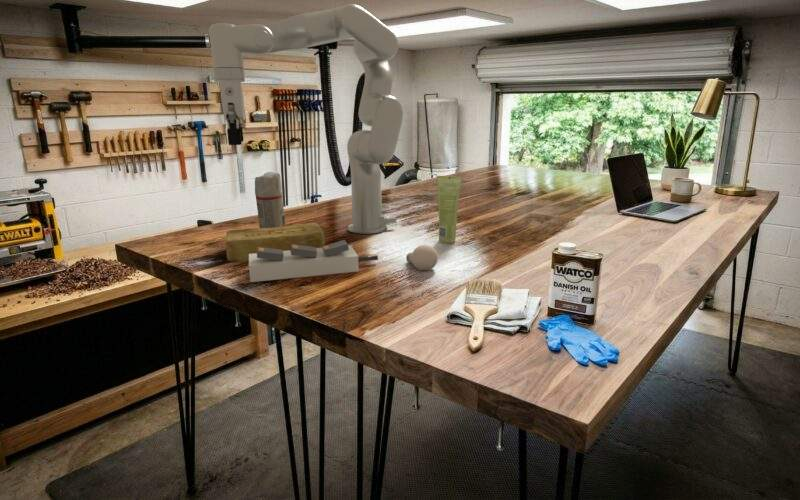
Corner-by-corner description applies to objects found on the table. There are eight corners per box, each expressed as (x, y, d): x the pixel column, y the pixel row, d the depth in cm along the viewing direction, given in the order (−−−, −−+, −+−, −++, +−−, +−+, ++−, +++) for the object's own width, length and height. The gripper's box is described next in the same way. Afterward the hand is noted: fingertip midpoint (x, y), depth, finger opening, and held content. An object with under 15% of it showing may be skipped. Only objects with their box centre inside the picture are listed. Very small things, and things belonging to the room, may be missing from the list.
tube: (451, 237, 155) (453, 174, 150) (460, 241, 151) (462, 176, 145) (435, 240, 153) (436, 175, 147) (444, 244, 149) (445, 178, 143)
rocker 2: (314, 253, 128) (315, 246, 127) (316, 257, 124) (317, 251, 124) (290, 250, 126) (291, 243, 125) (291, 254, 122) (292, 248, 122)
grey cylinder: (280, 241, 154) (274, 175, 148) (255, 239, 155) (248, 174, 149) (291, 233, 161) (286, 171, 156) (267, 232, 163) (261, 170, 157)
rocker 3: (346, 245, 129) (344, 239, 129) (349, 249, 126) (347, 243, 125) (323, 252, 128) (321, 246, 128) (325, 256, 125) (323, 250, 124)
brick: (227, 254, 146) (224, 230, 144) (318, 244, 154) (316, 221, 152) (227, 265, 133) (224, 239, 132) (326, 253, 141) (325, 229, 140)
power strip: (373, 257, 137) (372, 242, 136) (382, 269, 128) (381, 253, 127) (250, 268, 129) (248, 253, 128) (250, 282, 120) (248, 265, 118)
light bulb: (398, 245, 132) (420, 243, 122) (420, 246, 135) (443, 244, 125) (397, 270, 132) (420, 270, 122) (419, 270, 135) (442, 271, 125)
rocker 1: (281, 255, 125) (282, 249, 125) (282, 260, 122) (283, 254, 121) (256, 253, 124) (257, 246, 123) (256, 258, 120) (257, 251, 120)
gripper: (242, 74, 124) (249, 145, 129) (246, 77, 140) (252, 140, 145) (210, 74, 122) (218, 146, 127) (217, 77, 138) (224, 141, 143)
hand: (236, 143), depth 136 cm, fingers open, 9 cm apart
